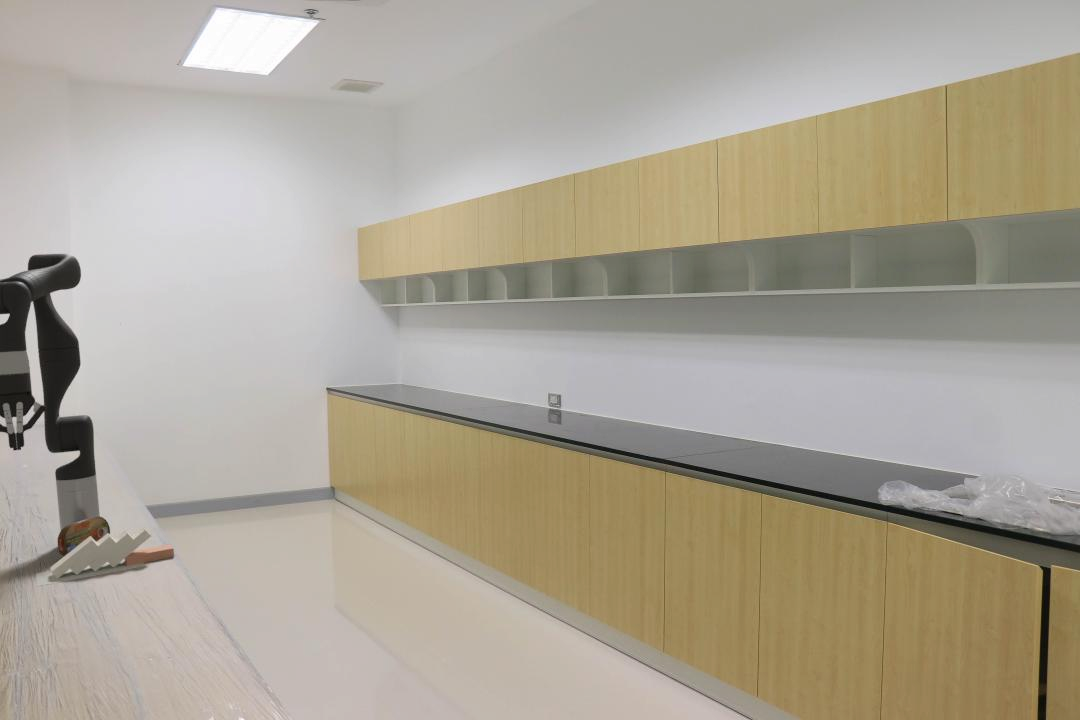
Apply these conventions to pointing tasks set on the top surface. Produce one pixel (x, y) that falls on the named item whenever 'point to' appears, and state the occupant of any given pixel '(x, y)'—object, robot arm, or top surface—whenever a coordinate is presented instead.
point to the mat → (83, 573)
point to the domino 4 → (130, 546)
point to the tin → (81, 533)
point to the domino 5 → (149, 554)
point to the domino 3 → (112, 550)
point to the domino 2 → (94, 553)
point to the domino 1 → (73, 557)
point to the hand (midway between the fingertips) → (17, 449)
